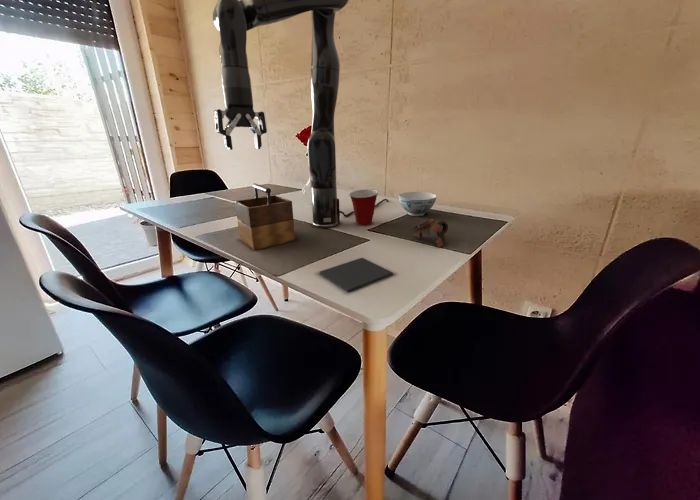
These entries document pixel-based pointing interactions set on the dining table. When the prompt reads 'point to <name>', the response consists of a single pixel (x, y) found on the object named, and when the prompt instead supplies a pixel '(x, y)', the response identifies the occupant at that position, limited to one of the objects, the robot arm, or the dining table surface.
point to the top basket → (263, 209)
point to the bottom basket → (267, 234)
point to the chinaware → (417, 202)
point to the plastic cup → (364, 205)
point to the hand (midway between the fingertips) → (244, 149)
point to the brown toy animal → (435, 226)
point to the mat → (355, 274)
